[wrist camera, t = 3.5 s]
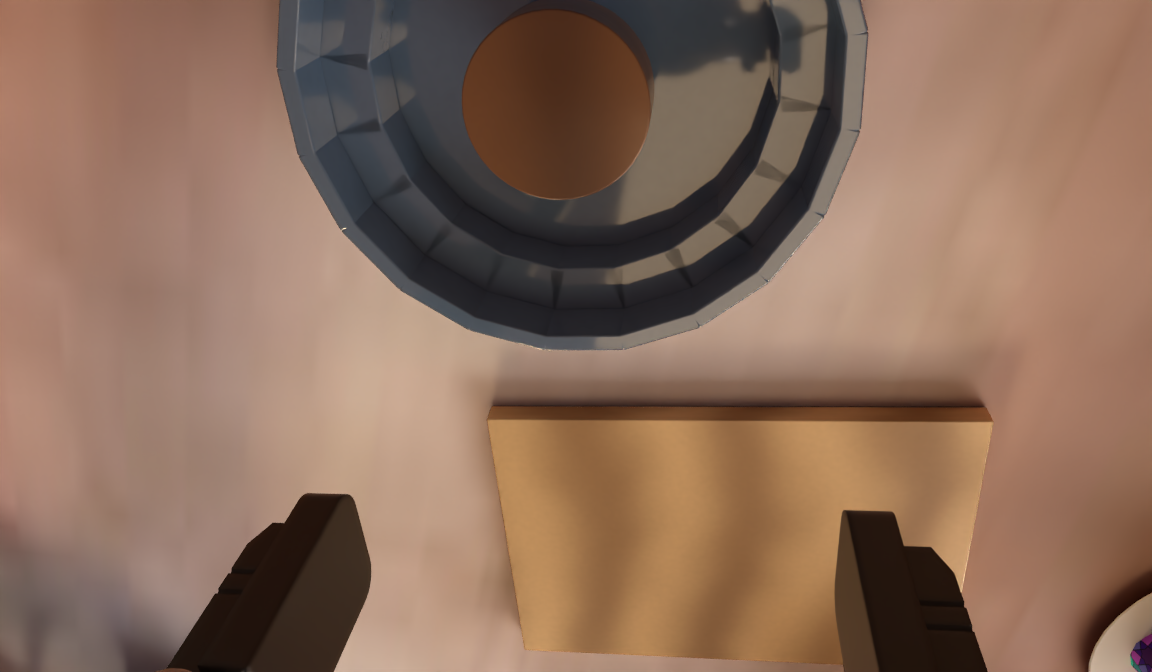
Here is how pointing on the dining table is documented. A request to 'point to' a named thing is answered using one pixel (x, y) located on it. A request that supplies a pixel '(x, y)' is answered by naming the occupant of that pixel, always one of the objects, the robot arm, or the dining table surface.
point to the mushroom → (559, 98)
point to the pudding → (1126, 641)
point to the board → (717, 518)
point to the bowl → (598, 221)
